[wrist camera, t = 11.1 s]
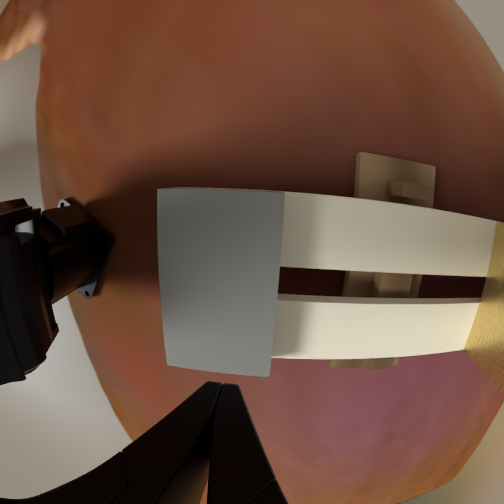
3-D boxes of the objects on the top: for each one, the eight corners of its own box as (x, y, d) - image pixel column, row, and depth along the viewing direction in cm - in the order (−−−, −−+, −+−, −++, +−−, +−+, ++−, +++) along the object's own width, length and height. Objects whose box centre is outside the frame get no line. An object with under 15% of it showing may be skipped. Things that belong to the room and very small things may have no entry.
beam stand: (328, 360, 21) (335, 387, 18) (356, 153, 17) (373, 147, 14) (393, 358, 21) (407, 382, 17) (428, 166, 17) (455, 165, 13)
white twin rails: (181, 339, 18) (167, 365, 15) (177, 187, 15) (157, 188, 13) (521, 332, 16) (538, 345, 13) (547, 233, 14) (567, 240, 11)
